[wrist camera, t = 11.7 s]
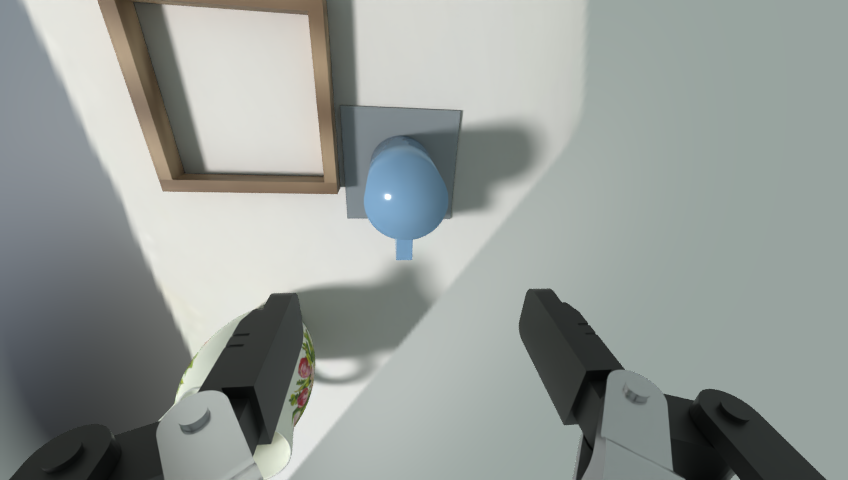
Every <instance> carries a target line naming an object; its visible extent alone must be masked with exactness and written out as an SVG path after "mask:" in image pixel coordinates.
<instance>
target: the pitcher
mask: <svg viewBox="0 0 848 480" xmlns="http://www.w3.org/2000/svg"><path fill="white" fill-rule="evenodd" d="M262 309H263V308H262ZM250 312H251V311H250ZM250 312H248V313H245V314H243V315H241V316H239V317H237V318H236V319H234V320H232V321H231V322H229V323H228V324H227V325H225V326H224V327H222V328H221V329H220V330H219V331H218V332H217V333H215V334H214V335H213V336H212V337H211V338H210V339H209V340H208V341H207V342H206V343H205V344H204V345H203V347H202V348H201V349H200V350H199V352H198V353H197V354H196V355H195V357H194V358H193V360H192V361H191V363H190V364H189V366H188V367H187V369H186V371H185V373H184V375H183V377H182V379H181V381H180V384H179V387H178V391H177V394H176V399H175V403H174V405H176V404H177V403H178V402H180V401H181V400H183V399H185V398H187V397H188V396H191V395H193V394H196V393H197V392H198V391H199V389H200V387H201V386H202V384H203V382H204V381H205V379H206V377H207V376H208V374H209V372H210V371H211V369H212V367H213V366H214V364H215V362H216V361H217V359H218V357H219V356H220V354H221V352H222V350H223V349H224V348H226V344H227V342H228V340H229V339H230V337H232V334H233V332H234V330H235V329H236V327H237V325H238V324H239V322H240V321H241V320H242V319H243V318H244V317H245V316H247V315H248V314H249V313H250ZM302 323H303V322H302ZM303 332H304V334H303V344H302V348H301V351H300V354H299V357H298V360H297V364H296V367H295V370H294V373H293V376H292V379H291V383H290V386H289V389H288V392H287V395H286V398H285V402H284V405H283V408H282V411H281V414H280V417H279V421H278V424H277V427H276V430H275V433H274V436H273V440H272V443H271V444H267V445H257V447H256V450H255V453H254V455H253V459H254V461H255V463H256V464H257V466H258V468H259V470H260V472H261V475H262V477H263V479H264V480H267V479H269V478H271V477H273V476H275V475H276V474H278V473H279V472H281V471H282V470H283V469H284V468H285V467H286V466H287V464H288V463H289V461H290V458H291V455H292V445H293V431H294V427H295V425H296V424H297V422H298V421H299V419H300V417H301V415H302V414H303V412H304V410H305V408H306V405H307V403H308V400H309V397H310V394H311V391H312V386H313V381H314V374H315V354H314V347H313V342H312V339H311V336H310V333H309V331H308V329H307V328H306V326H305V325H304V324H303ZM174 405H173V406H174ZM173 406H172V407H173ZM172 407H171V408H172ZM171 408H170V409H171ZM170 409H169V410H170ZM169 410H168V411H169ZM163 417H164V416H163ZM163 417H162V418H163ZM162 418H161V419H160V420H159V421H161V420H162Z"/></svg>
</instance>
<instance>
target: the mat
mask: <svg viewBox="0 0 848 480" xmlns="http://www.w3.org/2000/svg"><path fill="white" fill-rule="evenodd" d="M340 112H341V127H342V142H343V158H344V173H345V188H346V203H347V218H368V217H367V214H366V211H365V207H364V195H365V189H366V183H367V177H368V172H369V166H370V160H371V156H372V154H373V151H374V150H375V148H376V147H377V146H378V145H379V144H380V143H381V142H382V141H384V140H385V139H387V138H390V137H393V136H408V137H411V138H414V139H415V140H417V141H418V142H420V143H421V144H422V145H423V146H424V147H425V149H426V150H427V152H428V154H429V155H430V157H431V159H432V161H433V163H434V165H435V166H436V168H437V170H438V172H439V174H440V176H441V177H442V179H443V181H444V183H445V185H446V188H447V192H448V208H447V211H446V214H445V216H444V218H443V219H450V216H451V206H452V195H453V185H454V175H455V164H456V154H457V143H458V133H459V122H460V112H461V111H456V110H433V109H411V108H388V107H366V106H344V105H340Z"/></svg>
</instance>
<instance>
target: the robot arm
mask: <svg viewBox="0 0 848 480" xmlns="http://www.w3.org/2000/svg"><path fill="white" fill-rule="evenodd" d="M519 332H520V336H521V339H522V341H523V343H524V345H525V347H526V350H527V352H528V353H529V355H530V358H531V359H532V362H533V364H534V366H535V368H536V370H537V371H538V373H539V376H540V378H541V380H542V382H543V384H544V386H545V388H546V389H547V392H548V394H549V396H550V398H551V400H552V402H553V404H554V406H555V408H556V410H557V412H558V414H559V416H560V418H561V420H562V422H563V424H564V425H574V424H579V426H580V428H581V430H582V434H581V436H580V439H579V445H578V451H577V456H576V462H575V468H574V474H573V480H730V479H731V478H732V477H733V476H734V475H735V474H736V475H737V476H738V477H739V478H740V480H826V479H825V478H824V477H823V476H822V475H821V474H820V473H819V472H818V471H817V470H816V469H815V468H814V467H813V466H812V465H811V464H810V463H809V462H808V461H807V460H806V459H805V458H803V456H801V454H799V453H798V452H797V451H796V450H795V449H794V448H793V447H792V446H791V445H790V444H789V443H788V442H787V441H786V440H785V439H784V438H783V437H782V436H781V435H780V434H779V433H778V432H777V431H776V430H775V429H774V428H773V427H772V426H771V425H770V424H769V423H768V422H767V421H766V420H765V419H764V418H763V417H762V416H761V415H760V414H759V413H758V412H756V411H755V410H754V409H753V408H752V407H750V406H749V405H748V404H746V403H745V402H743V401H742V400H740V399H738V398H737V397H735V396H732V395H731V394H728V393H726V392H723V391H719V390H715V389H705V390H702V391H701V392H700V393H699V395H698V396H697V397H696V399H695V400H694V401H693V400H689V399H684V398H680V397H675V396H671V395H666V394H663V393H662V392H661V390H660V389H659V388H658V387H657V386H656V385H655V384H654V383H652V382H651V381H650V380H648V379H647V378H645V377H643V376H642V375H640V374H637V373H635V372H632V371H627V370H625V369H624V368H623V367H622V365H621V364H620V363H619V362H618V361H617V359H616V358H615V357H614V356H613V354H612V353H611V352H610V350H609V349H608V348H607V346H606V345H605V344H604V343H603V342H602V340H601V339H600V338H599V336H598V335H596V334H595V331H594V330H593V329H592V328H591V326H590V325H588V323H587V321H586V320H585V319H584V318H583V316H582V315H581V314H580V312H578V311H577V310H576V309H574V308H573V307H572V306H570V305H569V304H567V303H565V302H563V303H562V302H561V301H560V300H559V298H558V297H557V295H556V294H555V293H554V292H553V290H551V289H529V290H528V291H527V293H526V296H525V301H524V304H523V308H522V313H521V317H520V321H519ZM303 334H304V332H303V323H302V317H301V311H300V305H299V299H298V295H297V294H296V293H273V294H271V295H270V297H269V298H268V300H267V302H266V304H265V306H264V308H263V309H255V310H252V311H251V312H250V313H249V314H248V315H247V316H245V317H244V318H243V319H242V320H241V321H240V322H239V324H238V325H237V327H236V329H235V330H234V332H233V334H232V337H230V339H229V340H228V342H227V344H226V348H224V349H223V350H222V352H221V354H220V356H219V357H218V359H217V361H216V362H215V364H214V366H213V367H212V369H211V371H210V372H209V374H208V376H207V377H206V379H205V381H204V382H203V384H202V386H201V387H200V389H199V391H198V392H197V393H196V394H193V395H191V396H188V397H187V398H185V399H183V400H181V401H180V402H178V403H177V404H176V405H174V406H173V407H172V408H171V409H170V410H169V411H168V412H167V413H166V414H165V415H164V417H163V418H162V420H161V421H158V422H156V423H153V424H150V425H146V426H143V427H140V428H137V429H134V430H131V431H127V432H124V433H121V434H118V435H115V436H113V434H112V433H111V431H110V430H109V429H108V428H107V427H106V426H103V425H99V424H91V425H85V426H81V427H77V428H75V429H72V430H69V431H67V432H65V433H63V434H61V435H59V436H57V437H56V438H54V439H52V440H51V441H49V442H48V443H46V444H45V445H43V446H42V447H41V448H39V449H38V450H37V451H36V452H34V453H33V454H32V455H31V456H30V457H29V458H28V459H27V460H26V461H25V462H24V463H23V465H22V466H21V467H20V468H19V469H18V470H17V471H16V473H15V474H14V475H13V476H12V477H11V478H10V479H9V480H264V479H263V477H262V475H261V472H260V470H259V468H258V466H257V464H256V463H255V461H254V459H253V455H254V453H255V450H256V447H257V445H267V444H271V443H272V440H273V436H274V433H275V430H276V427H277V424H278V421H279V417H280V414H281V411H282V408H283V405H284V402H285V398H286V395H287V392H288V389H289V386H290V383H291V379H292V376H293V373H294V370H295V367H296V364H297V360H298V357H299V354H300V351H301V348H302V344H303Z"/></svg>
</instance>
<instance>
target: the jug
mask: <svg viewBox="0 0 848 480" xmlns="http://www.w3.org/2000/svg"><path fill="white" fill-rule="evenodd" d="M364 207H365V211H366V214H367V217H368V219H369V220H370V222H371V223H372V225H373V226H374V227H375V228H376V229H377V230H378V231H380V232H381V233H382V234H384V235H386V236H388V237H391V238H394V239H395V245H396V260H412V244H413V239H417V238H421V237H423V236H425V235H427V234H429V233H430V232H432V231H433V230H434V229H435V228H436V227H437V226H438V225H439V224H440V223H441V222H442V220H443V218H444V216H445V214H446V211H447V208H448V192H447V188H446V185H445V183H444V181H443V179H442V177H441V176H440V174H439V172H438V170H437V168H436V166H435V165H434V163H433V161H432V159H431V157H430V155H429V154H428V152H427V150H426V149H425V147H424V146H423V145H422V144H421V143H420V142H418V141H417V140H415V139H414V138H411V137H408V136H393V137H390V138H387V139H385V140H384V141H382V142H381V143H380V144H379V145H378V146H377V147H376V148H375V150H374V151H373V154H372V156H371V160H370V166H369V172H368V177H367V183H366V189H365V195H364Z"/></svg>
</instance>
